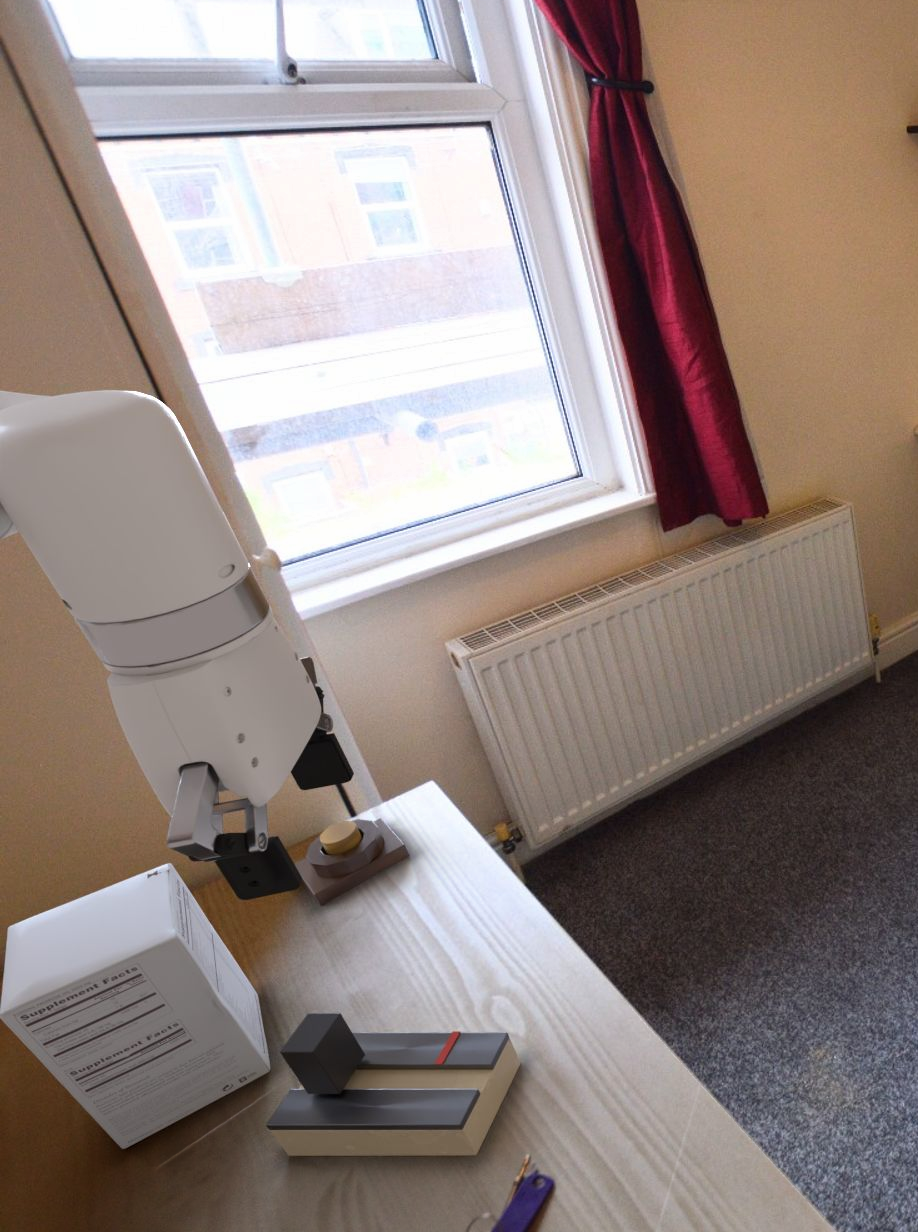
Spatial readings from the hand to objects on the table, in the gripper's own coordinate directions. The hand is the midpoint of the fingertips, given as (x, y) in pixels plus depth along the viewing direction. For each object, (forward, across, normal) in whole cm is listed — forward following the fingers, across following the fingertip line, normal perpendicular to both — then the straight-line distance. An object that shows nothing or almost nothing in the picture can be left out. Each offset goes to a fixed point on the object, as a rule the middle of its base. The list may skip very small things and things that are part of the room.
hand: (302, 833), depth 57 cm
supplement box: (+27, -6, -18) cm, 33 cm away
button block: (+26, -26, -13) cm, 39 cm away
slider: (+23, +2, -5) cm, 24 cm away
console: (+27, +3, -1) cm, 27 cm away
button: (+23, -26, -13) cm, 37 cm away
